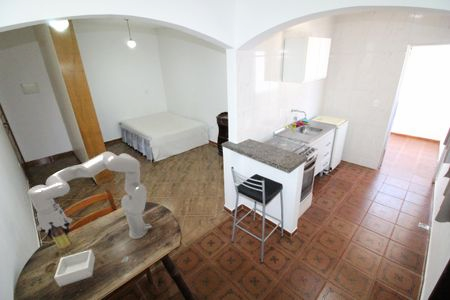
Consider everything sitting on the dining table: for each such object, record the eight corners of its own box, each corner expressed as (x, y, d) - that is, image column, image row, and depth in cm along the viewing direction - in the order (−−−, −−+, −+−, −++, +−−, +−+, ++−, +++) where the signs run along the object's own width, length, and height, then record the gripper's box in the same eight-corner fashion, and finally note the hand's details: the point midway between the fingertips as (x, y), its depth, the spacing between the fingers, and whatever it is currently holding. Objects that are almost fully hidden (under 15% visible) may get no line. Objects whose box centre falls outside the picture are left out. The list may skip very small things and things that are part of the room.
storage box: (95, 258, 136) (91, 249, 132) (91, 276, 125) (87, 267, 121) (65, 266, 131) (60, 257, 127) (59, 287, 120) (54, 277, 116)
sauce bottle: (63, 241, 121) (49, 214, 112) (74, 240, 121) (62, 213, 112) (56, 251, 115) (41, 224, 106) (68, 250, 115) (54, 222, 107)
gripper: (69, 199, 112) (80, 225, 120) (28, 208, 107) (43, 234, 115) (65, 208, 106) (77, 235, 114) (22, 218, 101) (37, 245, 109)
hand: (60, 234), depth 114 cm, fingers closed on sauce bottle, 6 cm apart
